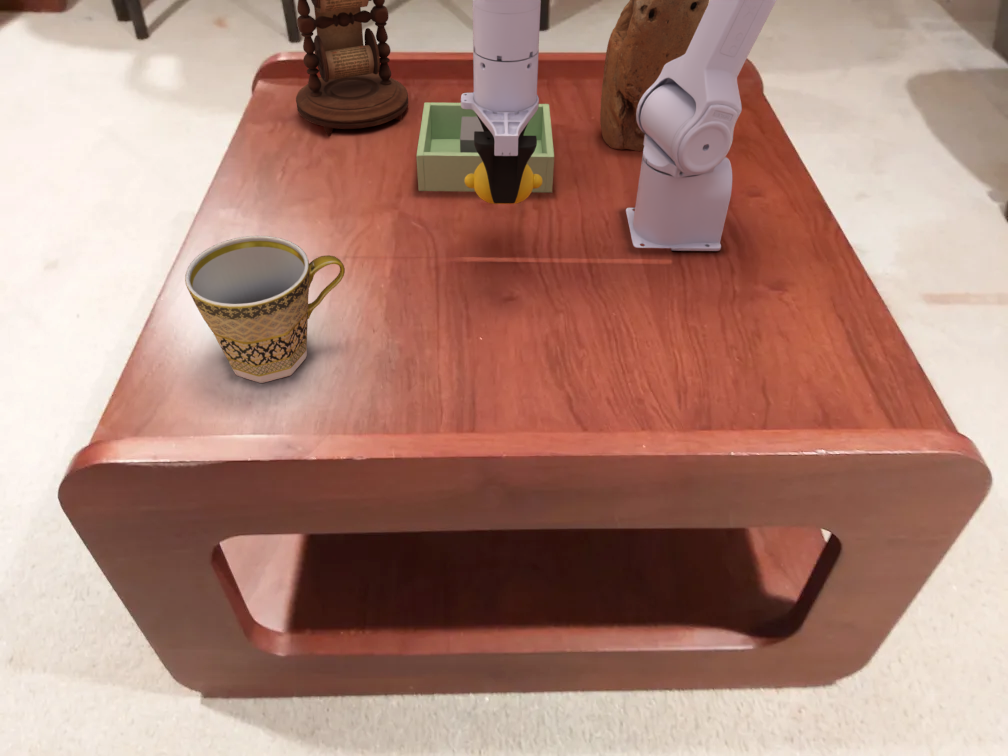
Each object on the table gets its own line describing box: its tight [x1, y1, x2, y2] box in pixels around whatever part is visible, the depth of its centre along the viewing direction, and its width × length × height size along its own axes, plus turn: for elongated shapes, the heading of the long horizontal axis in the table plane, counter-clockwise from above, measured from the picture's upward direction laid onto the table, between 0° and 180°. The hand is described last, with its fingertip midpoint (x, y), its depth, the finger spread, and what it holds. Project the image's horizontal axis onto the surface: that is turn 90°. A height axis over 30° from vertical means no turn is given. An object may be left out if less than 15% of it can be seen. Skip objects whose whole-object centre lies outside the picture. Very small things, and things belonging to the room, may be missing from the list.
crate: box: [415, 101, 555, 193], centre depth 99 cm, size 16×14×5 cm
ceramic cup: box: [184, 235, 346, 384], centre depth 72 cm, size 13×10×10 cm
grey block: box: [460, 117, 483, 153], centre depth 99 cm, size 6×6×4 cm
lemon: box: [465, 162, 542, 205], centre depth 80 cm, size 8×4×4 cm, turn 91°
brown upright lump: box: [599, 0, 710, 152], centre depth 99 cm, size 11×8×20 cm
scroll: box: [295, 0, 409, 136], centre depth 104 cm, size 15×15×20 cm
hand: (503, 187), depth 80 cm, fingers closed on lemon, 4 cm apart
